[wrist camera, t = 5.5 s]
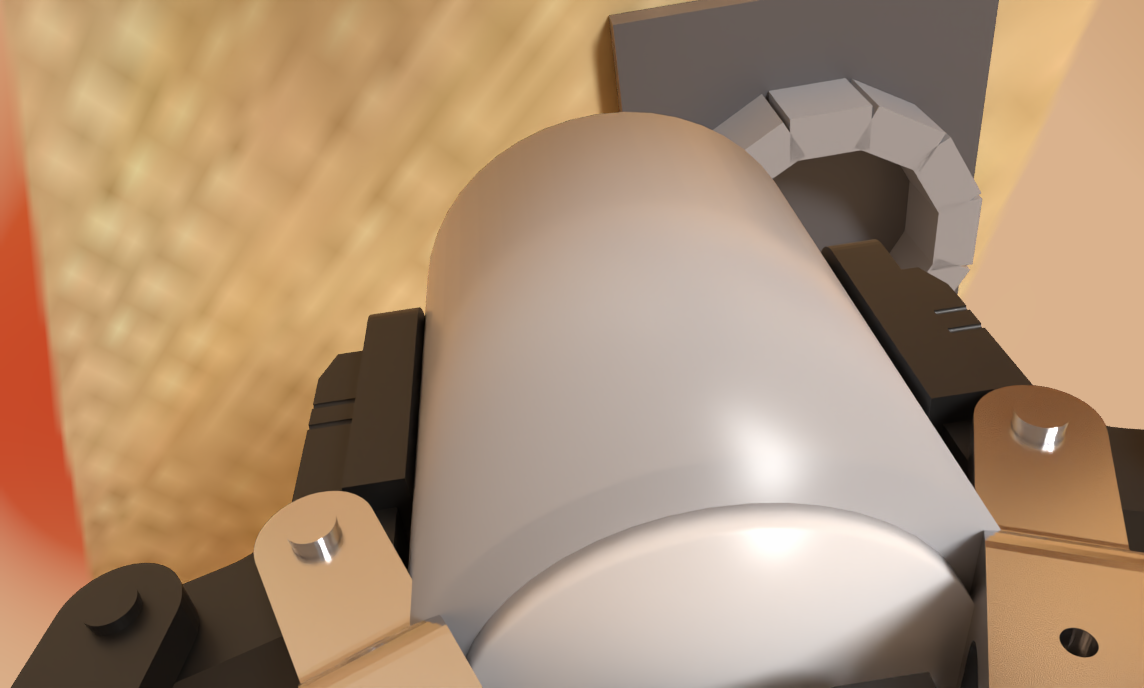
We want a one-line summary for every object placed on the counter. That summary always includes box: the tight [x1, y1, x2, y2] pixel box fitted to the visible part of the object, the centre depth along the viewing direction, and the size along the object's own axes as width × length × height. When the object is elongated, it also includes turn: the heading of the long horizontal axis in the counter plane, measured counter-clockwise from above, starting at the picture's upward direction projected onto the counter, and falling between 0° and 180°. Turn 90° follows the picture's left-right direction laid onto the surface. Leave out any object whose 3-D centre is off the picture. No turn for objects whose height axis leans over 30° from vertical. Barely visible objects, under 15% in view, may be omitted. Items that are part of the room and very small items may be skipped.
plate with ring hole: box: [609, 0, 999, 294], centre depth 31 cm, size 16×12×3 cm
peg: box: [408, 112, 1001, 688], centre depth 11 cm, size 6×6×7 cm
